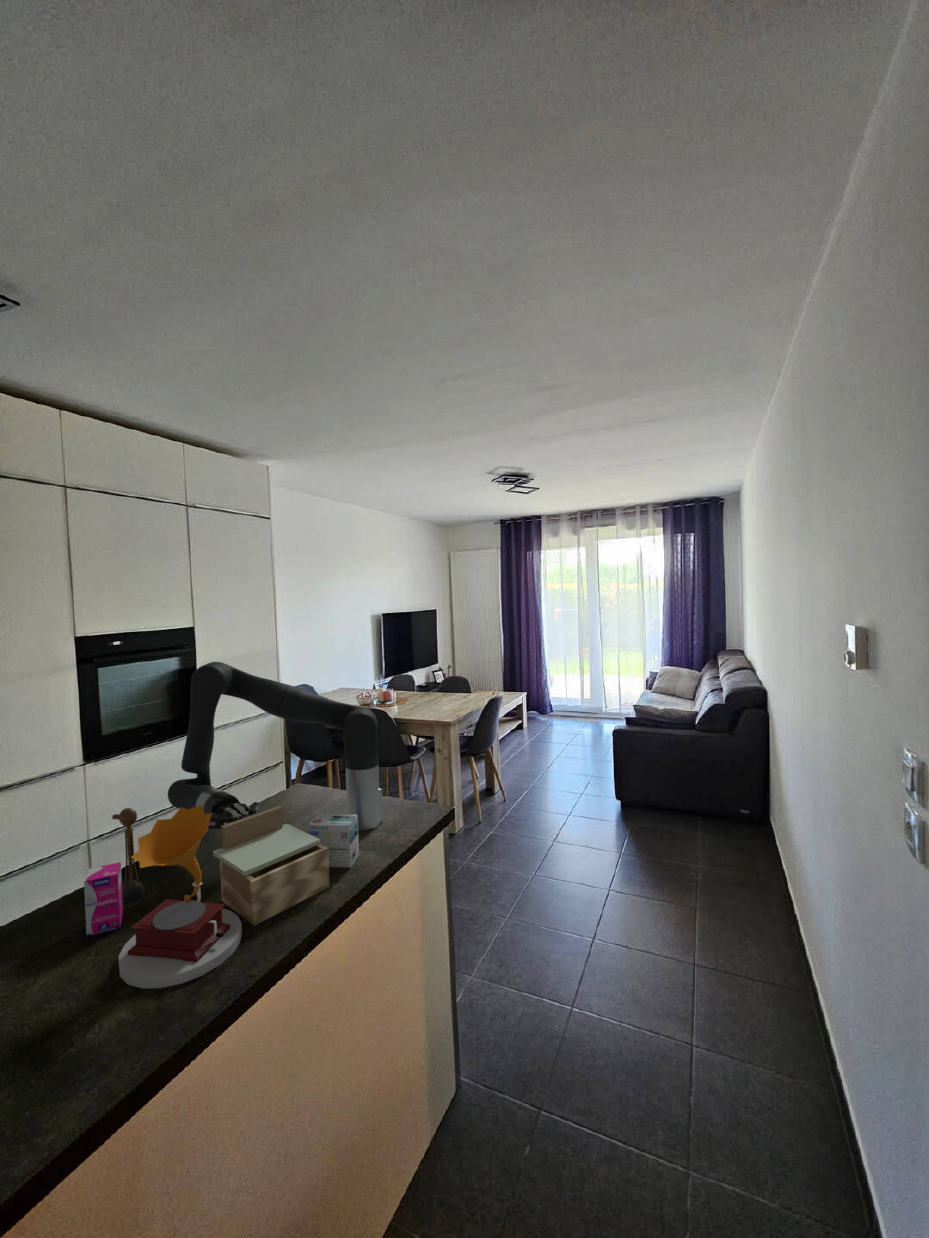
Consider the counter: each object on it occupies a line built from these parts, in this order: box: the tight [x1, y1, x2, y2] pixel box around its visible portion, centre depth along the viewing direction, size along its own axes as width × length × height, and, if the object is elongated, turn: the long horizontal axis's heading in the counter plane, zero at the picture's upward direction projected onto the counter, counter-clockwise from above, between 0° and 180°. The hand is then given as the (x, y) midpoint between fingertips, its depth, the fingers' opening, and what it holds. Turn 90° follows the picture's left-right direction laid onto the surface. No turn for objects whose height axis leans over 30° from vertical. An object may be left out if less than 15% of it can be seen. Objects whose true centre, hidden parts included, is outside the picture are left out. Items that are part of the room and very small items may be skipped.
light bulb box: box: [307, 813, 360, 869], centre depth 133 cm, size 11×7×11 cm, turn 84°
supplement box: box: [83, 862, 124, 937], centre depth 108 cm, size 6×6×12 cm
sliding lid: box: [212, 805, 320, 876], centre depth 120 cm, size 18×14×6 cm
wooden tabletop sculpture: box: [111, 807, 146, 903], centre depth 119 cm, size 6×5×20 cm
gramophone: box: [118, 805, 243, 989], centre depth 100 cm, size 20×20×25 cm
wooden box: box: [219, 844, 330, 926], centre depth 119 cm, size 18×14×9 cm
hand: (251, 824), depth 125 cm, fingers closed
